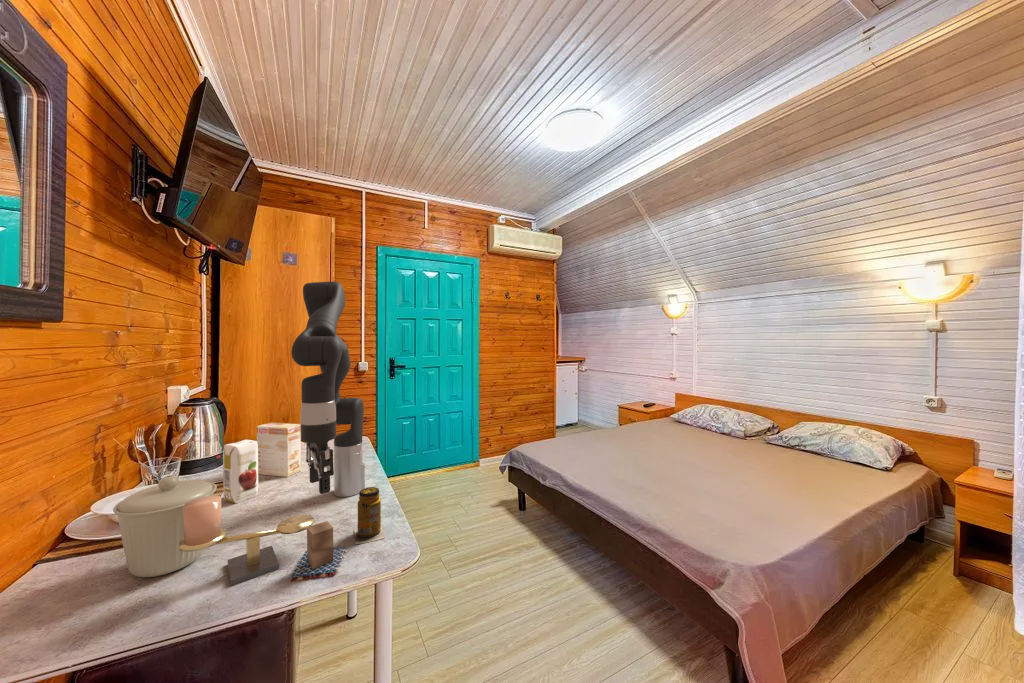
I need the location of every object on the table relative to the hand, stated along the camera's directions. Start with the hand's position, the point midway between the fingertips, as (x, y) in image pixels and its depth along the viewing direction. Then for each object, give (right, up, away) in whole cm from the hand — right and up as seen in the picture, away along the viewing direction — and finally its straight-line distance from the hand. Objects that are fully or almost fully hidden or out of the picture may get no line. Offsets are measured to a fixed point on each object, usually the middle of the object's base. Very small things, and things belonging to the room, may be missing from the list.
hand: (319, 487), depth 87 cm
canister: (-37, -19, +1) cm, 42 cm away
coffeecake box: (-48, -19, +60) cm, 79 cm away
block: (0, -18, 0) cm, 18 cm away
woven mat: (0, -20, 0) cm, 20 cm away
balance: (-16, -19, 0) cm, 25 cm away
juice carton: (-46, -19, +37) cm, 62 cm away
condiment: (+6, -19, +14) cm, 24 cm away
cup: (-22, -9, -6) cm, 25 cm away
